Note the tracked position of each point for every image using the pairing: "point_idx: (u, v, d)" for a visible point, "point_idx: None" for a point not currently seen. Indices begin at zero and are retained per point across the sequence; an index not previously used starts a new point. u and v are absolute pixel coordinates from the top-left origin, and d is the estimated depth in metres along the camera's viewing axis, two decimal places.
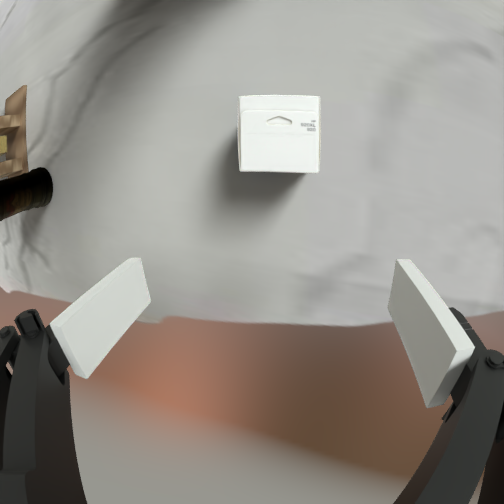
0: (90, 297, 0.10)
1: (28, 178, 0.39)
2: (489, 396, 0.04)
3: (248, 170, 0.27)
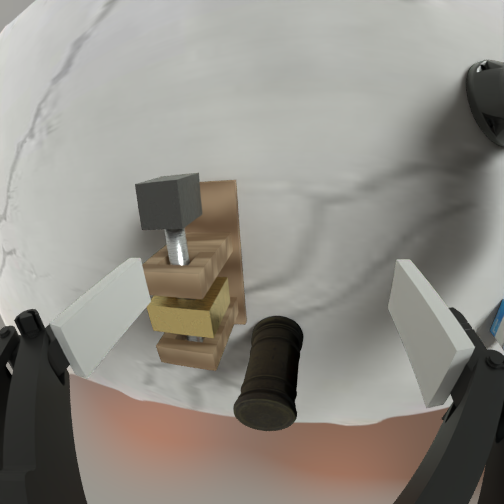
0: (90, 297, 0.10)
1: (293, 346, 0.40)
2: (489, 396, 0.04)
3: None
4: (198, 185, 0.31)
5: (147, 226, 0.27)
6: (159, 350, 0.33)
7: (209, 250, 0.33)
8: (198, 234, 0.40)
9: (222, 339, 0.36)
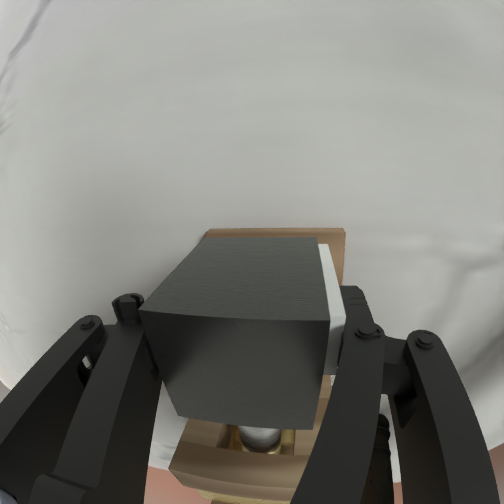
0: None
1: (387, 453, 0.21)
2: (363, 366, 0.06)
3: None
4: None
5: (194, 414, 0.08)
6: None
7: None
8: None
9: None
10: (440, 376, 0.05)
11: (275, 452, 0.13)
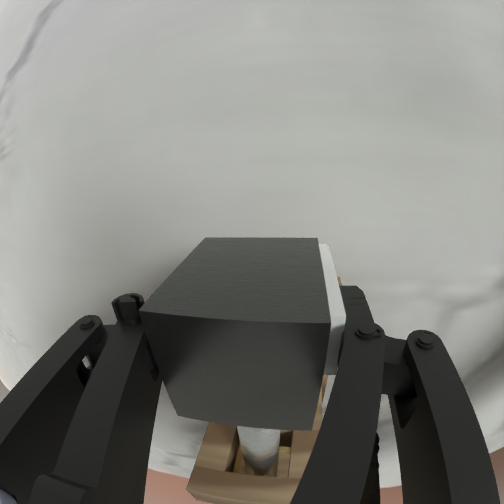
0: None
1: (375, 466, 0.23)
2: (364, 366, 0.06)
3: None
4: None
5: (193, 414, 0.08)
6: None
7: None
8: None
9: None
10: (440, 376, 0.05)
11: (274, 452, 0.13)
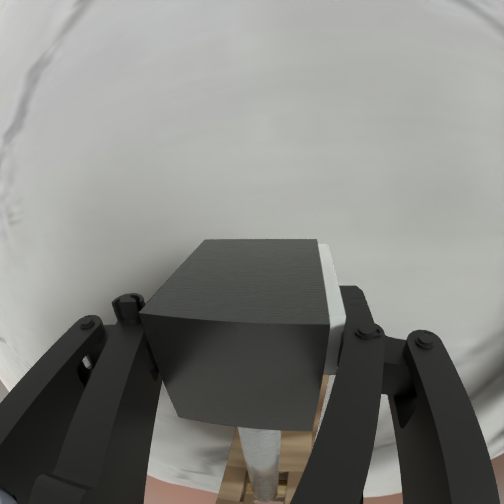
0: None
1: None
2: (363, 366, 0.06)
3: None
4: None
5: (194, 416, 0.08)
6: None
7: (299, 466, 0.19)
8: None
9: None
10: (440, 376, 0.05)
11: (275, 453, 0.13)
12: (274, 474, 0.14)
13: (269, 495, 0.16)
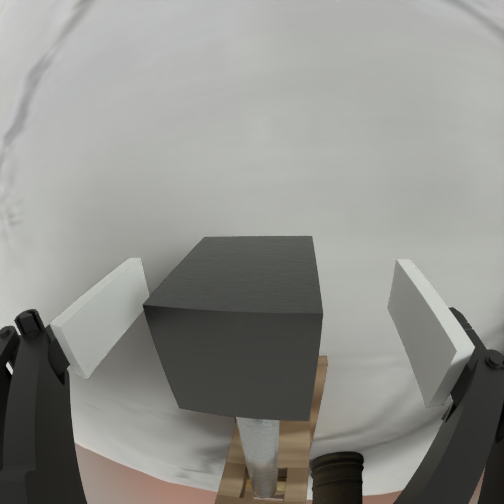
0: (90, 297, 0.10)
1: (359, 483, 0.27)
2: (489, 396, 0.04)
3: None
4: None
5: (194, 407, 0.09)
6: None
7: (298, 462, 0.20)
8: None
9: None
10: None
11: (274, 447, 0.13)
12: (273, 469, 0.15)
13: (268, 491, 0.17)
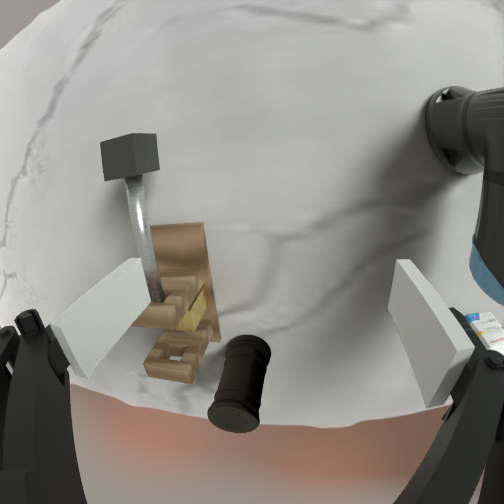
0: (90, 297, 0.10)
1: (259, 361, 0.46)
2: (489, 396, 0.04)
3: None
4: (155, 144, 0.32)
5: (108, 178, 0.29)
6: (145, 367, 0.39)
7: (180, 287, 0.40)
8: (174, 269, 0.46)
9: (196, 357, 0.42)
10: None
11: (144, 228, 0.33)
12: (150, 258, 0.35)
13: (155, 296, 0.36)
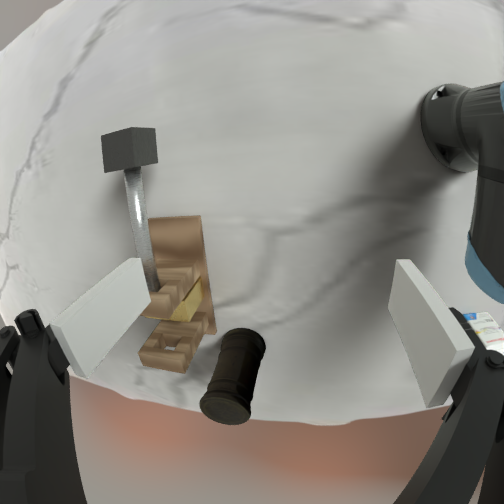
0: (90, 297, 0.10)
1: (253, 354, 0.47)
2: (489, 396, 0.04)
3: None
4: (154, 138, 0.33)
5: (108, 170, 0.30)
6: (140, 356, 0.40)
7: (176, 277, 0.41)
8: (171, 261, 0.47)
9: (190, 348, 0.43)
10: None
11: (142, 219, 0.34)
12: (146, 247, 0.36)
13: (151, 285, 0.37)
